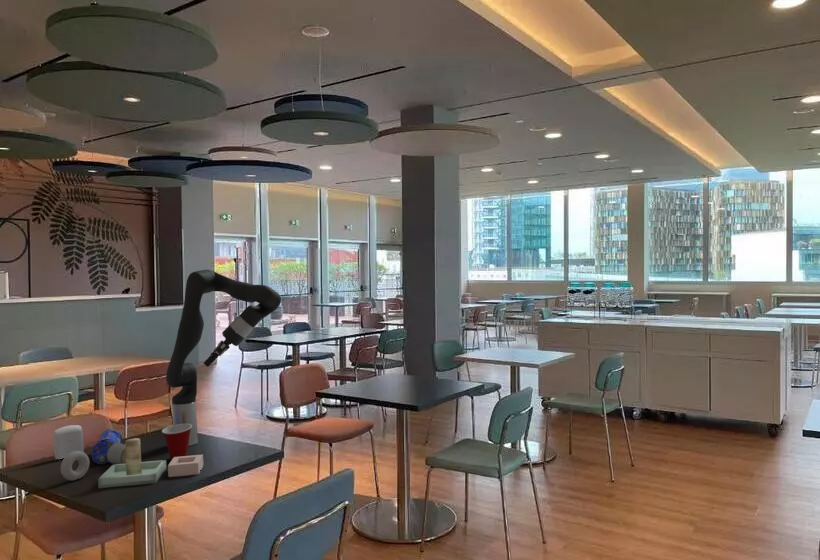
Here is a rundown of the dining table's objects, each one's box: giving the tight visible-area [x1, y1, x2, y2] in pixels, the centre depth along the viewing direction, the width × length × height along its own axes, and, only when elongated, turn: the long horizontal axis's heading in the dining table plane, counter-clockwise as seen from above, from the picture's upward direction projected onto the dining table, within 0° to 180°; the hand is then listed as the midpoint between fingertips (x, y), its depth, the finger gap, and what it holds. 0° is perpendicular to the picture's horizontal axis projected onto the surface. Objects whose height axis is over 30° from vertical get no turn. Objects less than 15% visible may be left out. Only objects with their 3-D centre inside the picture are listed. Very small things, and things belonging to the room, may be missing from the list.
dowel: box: [124, 437, 142, 476], centre depth 211 cm, size 5×5×12 cm
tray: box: [97, 459, 167, 489], centre depth 211 cm, size 16×18×3 cm
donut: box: [60, 451, 90, 481], centre depth 212 cm, size 10×3×10 cm, turn 154°
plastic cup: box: [161, 424, 192, 461], centre depth 232 cm, size 11×11×12 cm
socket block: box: [167, 454, 204, 478], centre depth 216 cm, size 10×10×4 cm
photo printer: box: [53, 424, 85, 459], centre depth 240 cm, size 10×4×12 cm, turn 137°
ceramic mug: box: [107, 443, 126, 465], centre depth 229 cm, size 11×8×8 cm
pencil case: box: [90, 428, 123, 465], centre depth 238 cm, size 22×9×10 cm, turn 19°
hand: (207, 363), depth 225 cm, fingers open, 8 cm apart
